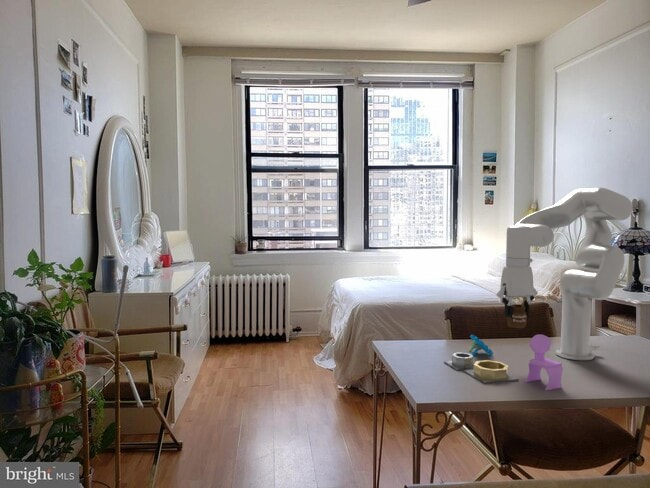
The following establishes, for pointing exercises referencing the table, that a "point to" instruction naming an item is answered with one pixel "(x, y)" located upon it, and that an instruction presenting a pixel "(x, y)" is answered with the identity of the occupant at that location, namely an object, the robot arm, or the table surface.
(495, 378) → the wide socket
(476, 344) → the gear
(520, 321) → the utensil holder
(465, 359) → the narrow socket
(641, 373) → the table surface
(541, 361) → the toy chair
